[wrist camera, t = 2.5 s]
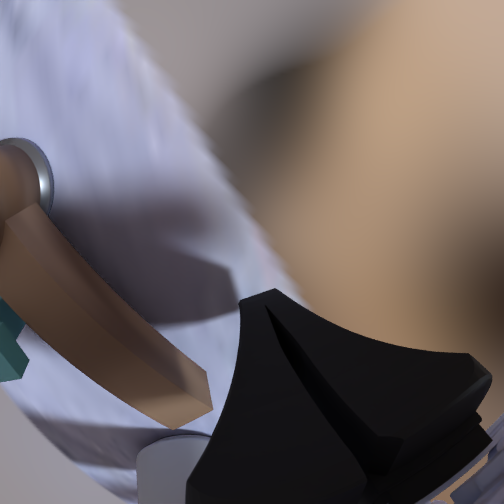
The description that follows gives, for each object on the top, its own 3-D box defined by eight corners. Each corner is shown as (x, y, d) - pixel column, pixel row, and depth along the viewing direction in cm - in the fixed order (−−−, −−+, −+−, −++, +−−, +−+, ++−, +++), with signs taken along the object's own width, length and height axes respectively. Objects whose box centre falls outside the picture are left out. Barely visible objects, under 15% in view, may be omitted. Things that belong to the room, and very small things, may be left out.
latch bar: (-36, 191, 6) (-80, 212, 4) (8, 124, 6) (-39, 126, 3) (160, 393, 11) (162, 441, 9) (216, 359, 11) (228, 408, 9)
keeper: (61, 297, 9) (21, 378, 5) (18, 313, 9) (-24, 385, 5) (45, 265, 9) (-9, 338, 5) (2, 285, 8) (-50, 351, 4)
